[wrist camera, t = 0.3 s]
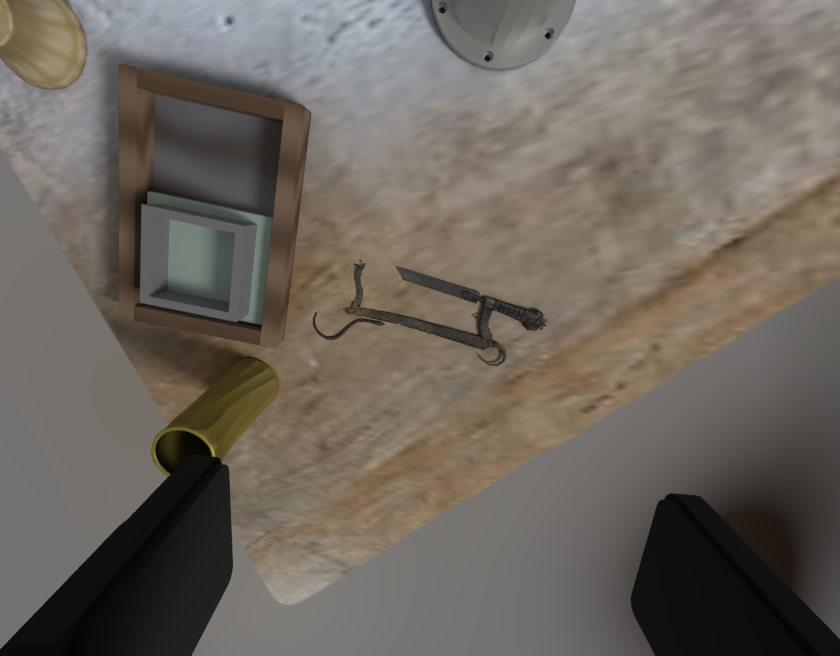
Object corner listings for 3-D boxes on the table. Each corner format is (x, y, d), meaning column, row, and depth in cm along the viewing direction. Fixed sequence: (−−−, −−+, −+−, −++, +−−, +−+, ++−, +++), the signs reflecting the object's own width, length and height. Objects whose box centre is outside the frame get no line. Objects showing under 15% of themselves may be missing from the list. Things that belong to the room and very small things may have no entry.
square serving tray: (155, 191, 41) (125, 190, 37) (277, 217, 41) (261, 219, 37) (152, 299, 44) (125, 308, 40) (265, 321, 45) (250, 333, 40)
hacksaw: (548, 312, 45) (552, 316, 44) (513, 394, 48) (515, 400, 47) (332, 242, 43) (329, 243, 42) (309, 332, 46) (305, 336, 45)
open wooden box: (141, 74, 39) (119, 63, 36) (311, 112, 39) (302, 105, 36) (138, 310, 45) (118, 317, 42) (283, 339, 46) (274, 348, 43)
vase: (281, 407, 48) (225, 488, 35) (228, 406, 48) (151, 487, 35) (276, 358, 46) (215, 422, 33) (222, 357, 47) (138, 421, 33)
